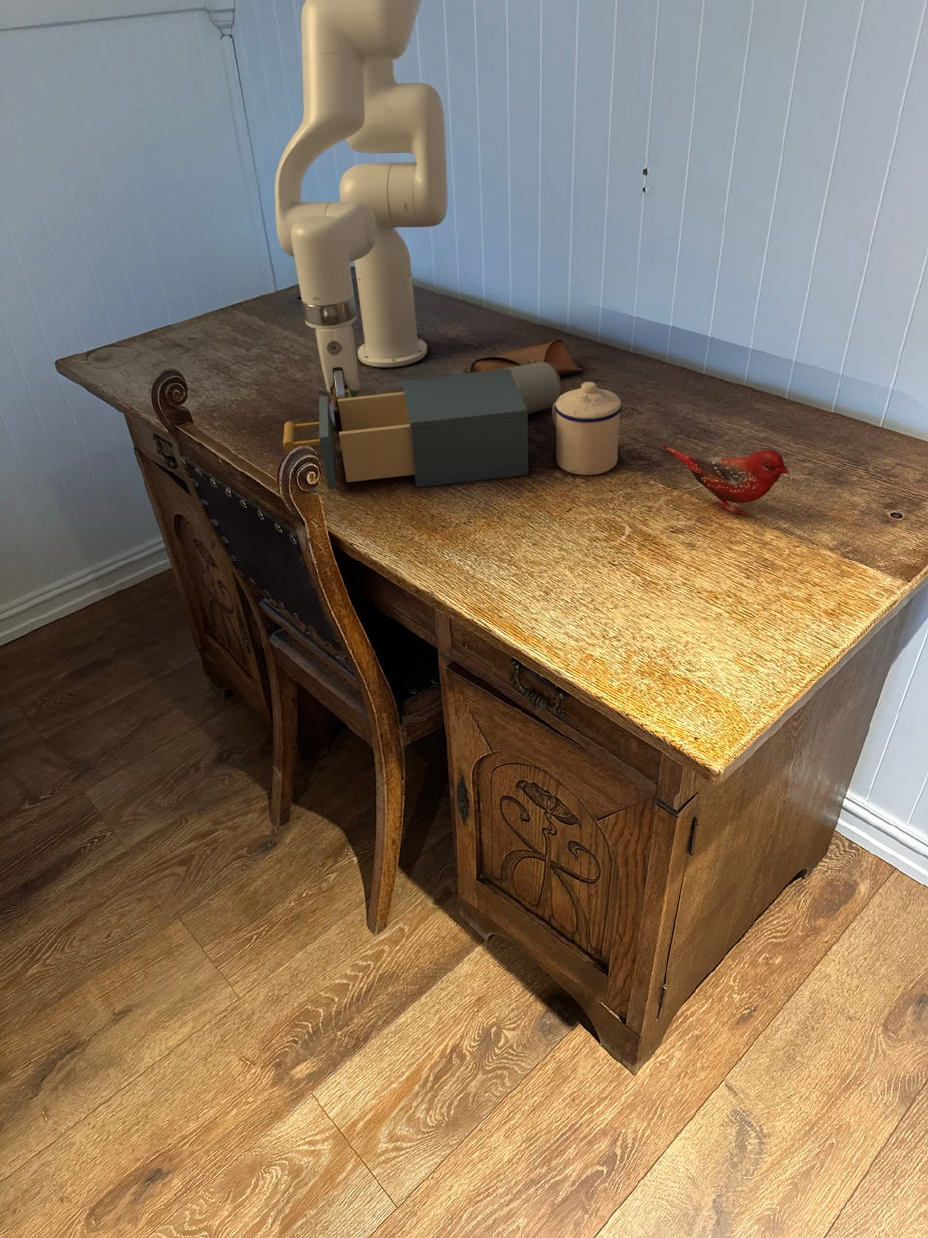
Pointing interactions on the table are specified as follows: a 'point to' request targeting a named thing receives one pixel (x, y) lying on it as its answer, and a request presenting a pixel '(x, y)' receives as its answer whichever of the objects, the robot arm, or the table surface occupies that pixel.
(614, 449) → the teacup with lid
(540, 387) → the ceramic mug
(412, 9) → the robot arm
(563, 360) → the sunglasses case
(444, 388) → the cabinet
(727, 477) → the decorative bird figurine
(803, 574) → the table surface
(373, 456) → the drawer
